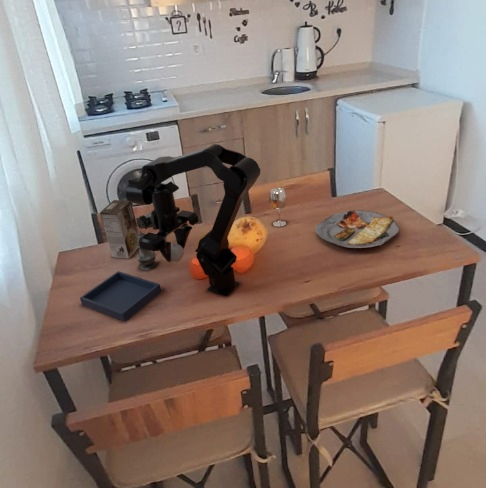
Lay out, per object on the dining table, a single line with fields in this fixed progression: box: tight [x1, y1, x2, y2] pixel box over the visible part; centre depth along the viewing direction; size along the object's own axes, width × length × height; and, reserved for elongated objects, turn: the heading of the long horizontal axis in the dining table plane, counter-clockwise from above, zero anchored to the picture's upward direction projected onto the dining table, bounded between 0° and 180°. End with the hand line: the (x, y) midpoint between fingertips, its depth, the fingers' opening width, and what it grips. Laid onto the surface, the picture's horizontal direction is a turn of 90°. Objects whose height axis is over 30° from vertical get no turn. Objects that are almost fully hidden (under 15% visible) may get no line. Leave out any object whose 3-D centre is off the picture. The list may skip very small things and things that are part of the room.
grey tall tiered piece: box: [135, 230, 158, 271], centre depth 139 cm, size 6×6×12 cm
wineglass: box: [268, 187, 288, 228], centre depth 154 cm, size 6×6×12 cm
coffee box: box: [99, 199, 140, 259], centre depth 148 cm, size 9×6×16 cm
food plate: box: [314, 209, 400, 249], centre depth 145 cm, size 25×23×4 cm
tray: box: [79, 270, 163, 322], centre depth 128 cm, size 16×14×2 cm
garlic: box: [170, 241, 185, 263], centre depth 131 cm, size 6×5×5 cm
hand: (175, 256), depth 132 cm, fingers closed on garlic, 5 cm apart
